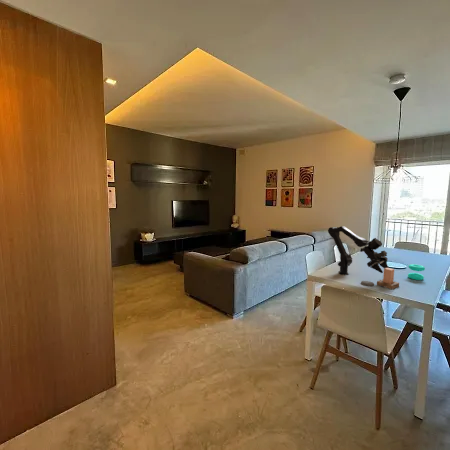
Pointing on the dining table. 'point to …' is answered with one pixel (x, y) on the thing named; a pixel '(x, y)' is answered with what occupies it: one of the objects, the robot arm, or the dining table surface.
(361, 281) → the pad
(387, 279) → the peg
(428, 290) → the dining table surface
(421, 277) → the donuts
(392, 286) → the socket plate
